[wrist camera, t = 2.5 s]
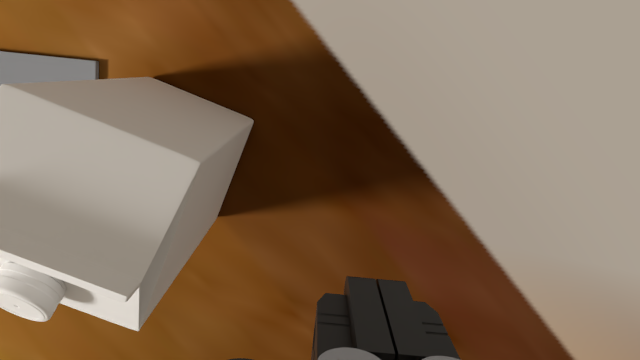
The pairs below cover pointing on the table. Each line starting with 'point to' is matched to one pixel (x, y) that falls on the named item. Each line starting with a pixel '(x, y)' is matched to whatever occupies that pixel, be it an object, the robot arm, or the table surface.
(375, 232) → the table surface
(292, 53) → the table surface
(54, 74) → the mat
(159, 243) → the milk carton
